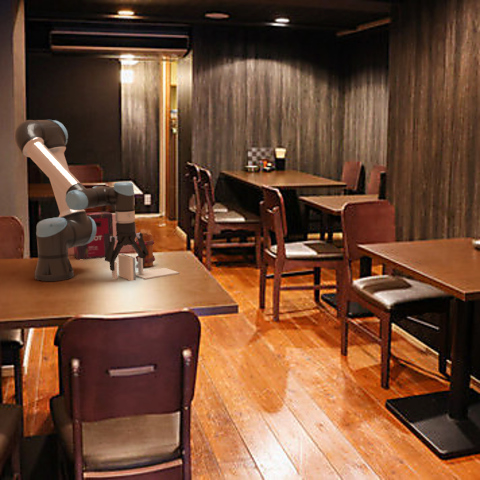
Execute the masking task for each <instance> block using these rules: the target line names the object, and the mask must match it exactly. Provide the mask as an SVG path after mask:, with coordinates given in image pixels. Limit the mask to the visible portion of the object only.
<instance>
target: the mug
mask: <svg viewBox="0 0 480 480" xmlns="http://www.w3.org/2000/svg"><path fill="white" fill-rule="evenodd" d="M139 233H142V234H143V240H144V243H145V245H146V248H147V251H148V253H149V255H148V256H146V258H144V262H145V264H144V266H143V268H146V267H147V268H149V267H152V266H153V264H154V262H155V261H156V257H155V255H154V253H153V252H154V249H153V248H154V247H153V246H154V244H155V241H154V238H153V234H152V233H151V232H146V229H145V228H141V229H140V230H139ZM135 242H136V243H137V245H138V247H139V248H140V250H141V247H140V244H139V242H138V239H136V240H135ZM141 251H142V250H141ZM138 257H140V256H139V255H138V254H137V256H135V262H136V263H138Z"/></svg>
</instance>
